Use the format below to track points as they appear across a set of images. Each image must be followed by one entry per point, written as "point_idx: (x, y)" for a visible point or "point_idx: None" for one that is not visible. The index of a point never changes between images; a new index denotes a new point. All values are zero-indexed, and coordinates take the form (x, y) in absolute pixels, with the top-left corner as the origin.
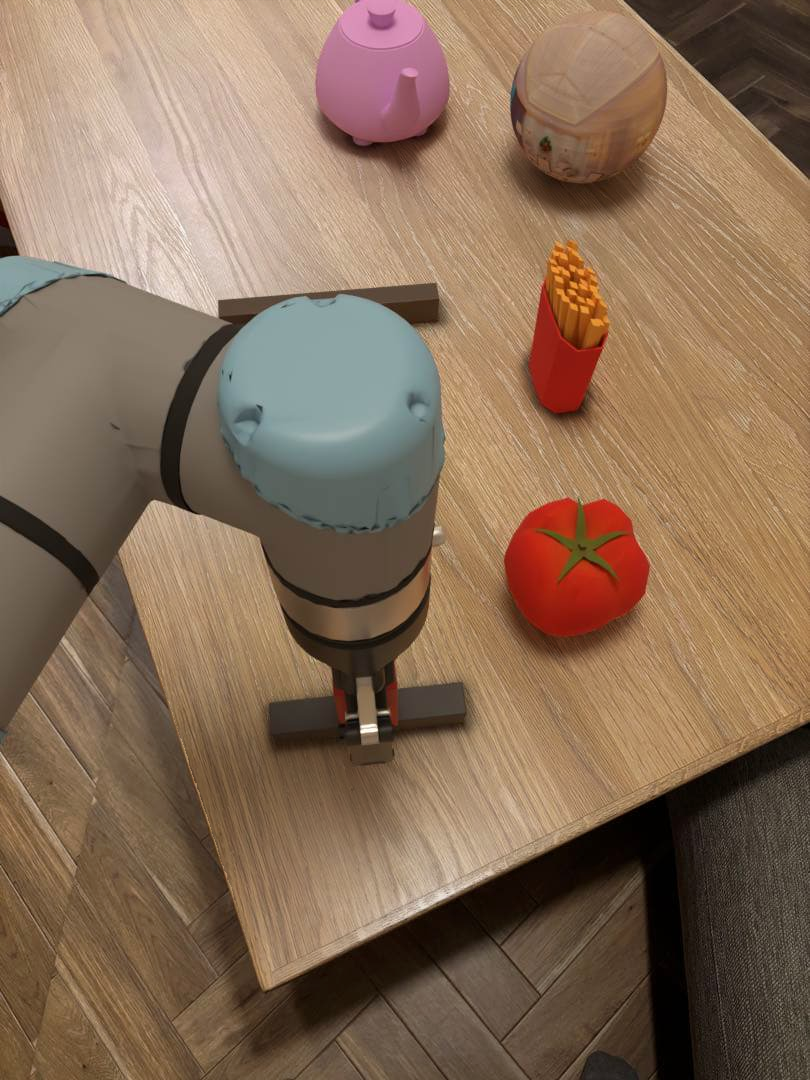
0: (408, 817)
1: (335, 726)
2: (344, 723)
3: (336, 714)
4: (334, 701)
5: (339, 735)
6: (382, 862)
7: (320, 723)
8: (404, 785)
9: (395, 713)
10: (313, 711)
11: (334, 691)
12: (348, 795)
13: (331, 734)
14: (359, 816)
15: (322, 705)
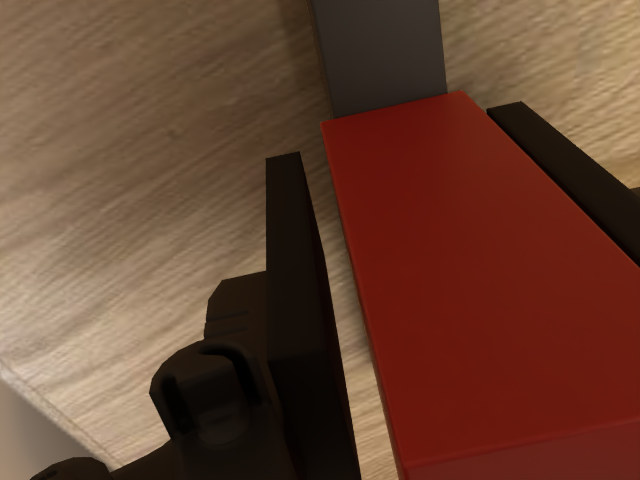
0: (133, 278)
1: (335, 97)
2: (262, 384)
3: (378, 94)
4: (424, 81)
5: (184, 384)
6: (2, 235)
7: (342, 41)
8: (210, 260)
9: (372, 363)
10: (385, 9)
11: (434, 463)
12: (152, 125)
13: (319, 60)
14: (102, 163)
15: (408, 40)
